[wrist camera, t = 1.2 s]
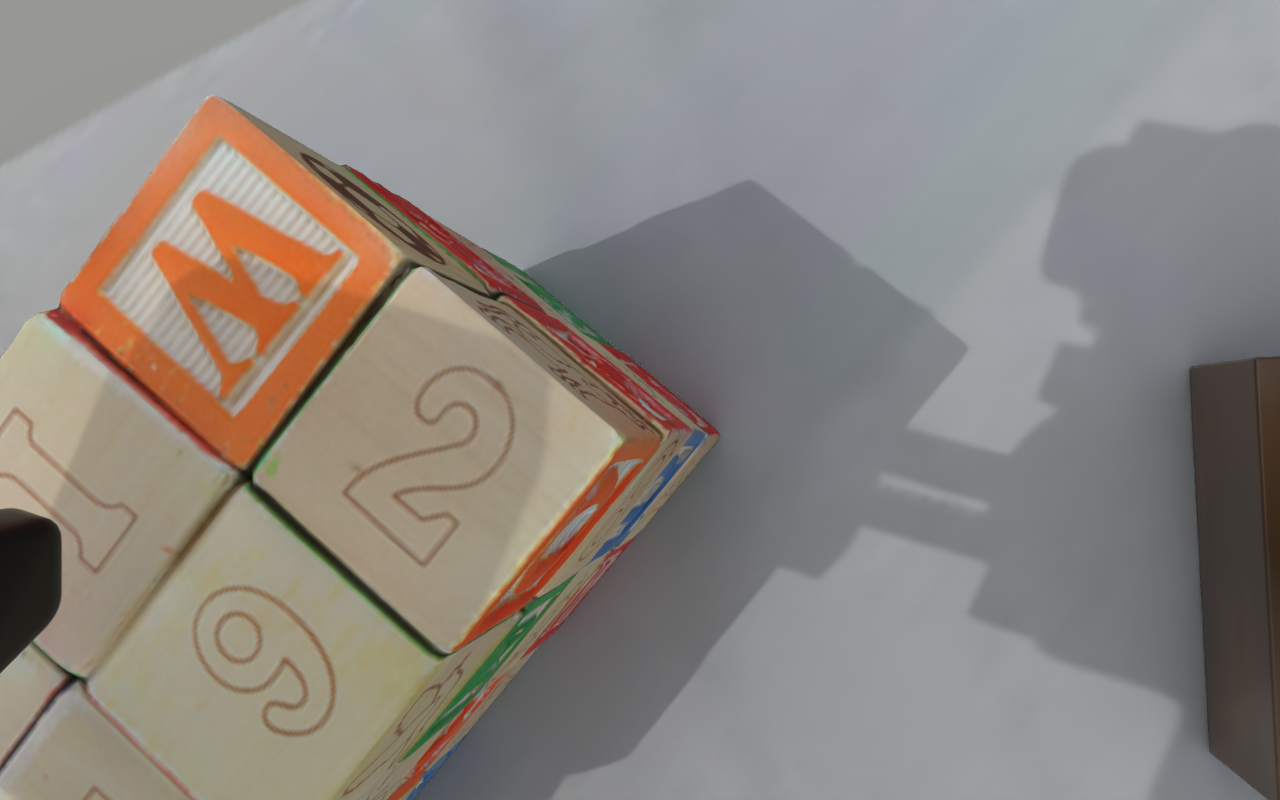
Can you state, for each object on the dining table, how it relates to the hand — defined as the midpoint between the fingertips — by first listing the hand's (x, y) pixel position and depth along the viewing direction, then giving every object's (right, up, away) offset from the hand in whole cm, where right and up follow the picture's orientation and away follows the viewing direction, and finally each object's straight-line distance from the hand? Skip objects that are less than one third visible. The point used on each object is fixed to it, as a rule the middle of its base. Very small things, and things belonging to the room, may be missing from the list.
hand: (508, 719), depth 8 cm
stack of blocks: (-6, -4, +15) cm, 17 cm away
